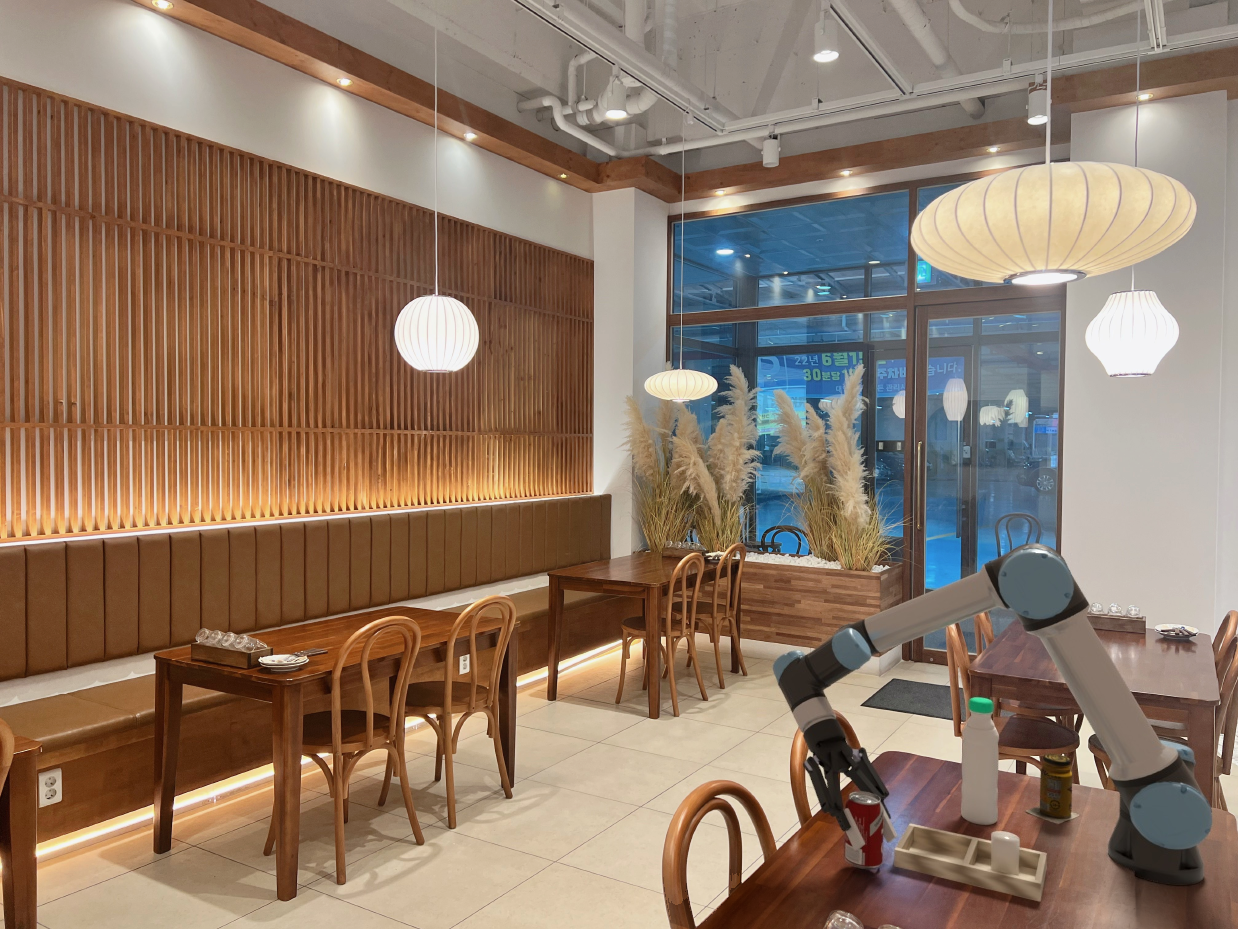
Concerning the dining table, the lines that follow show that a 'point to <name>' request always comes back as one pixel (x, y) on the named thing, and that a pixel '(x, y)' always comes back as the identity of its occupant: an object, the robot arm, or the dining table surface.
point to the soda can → (866, 830)
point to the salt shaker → (1005, 852)
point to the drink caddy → (968, 861)
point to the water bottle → (980, 764)
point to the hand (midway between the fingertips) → (876, 843)
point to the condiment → (1055, 790)
